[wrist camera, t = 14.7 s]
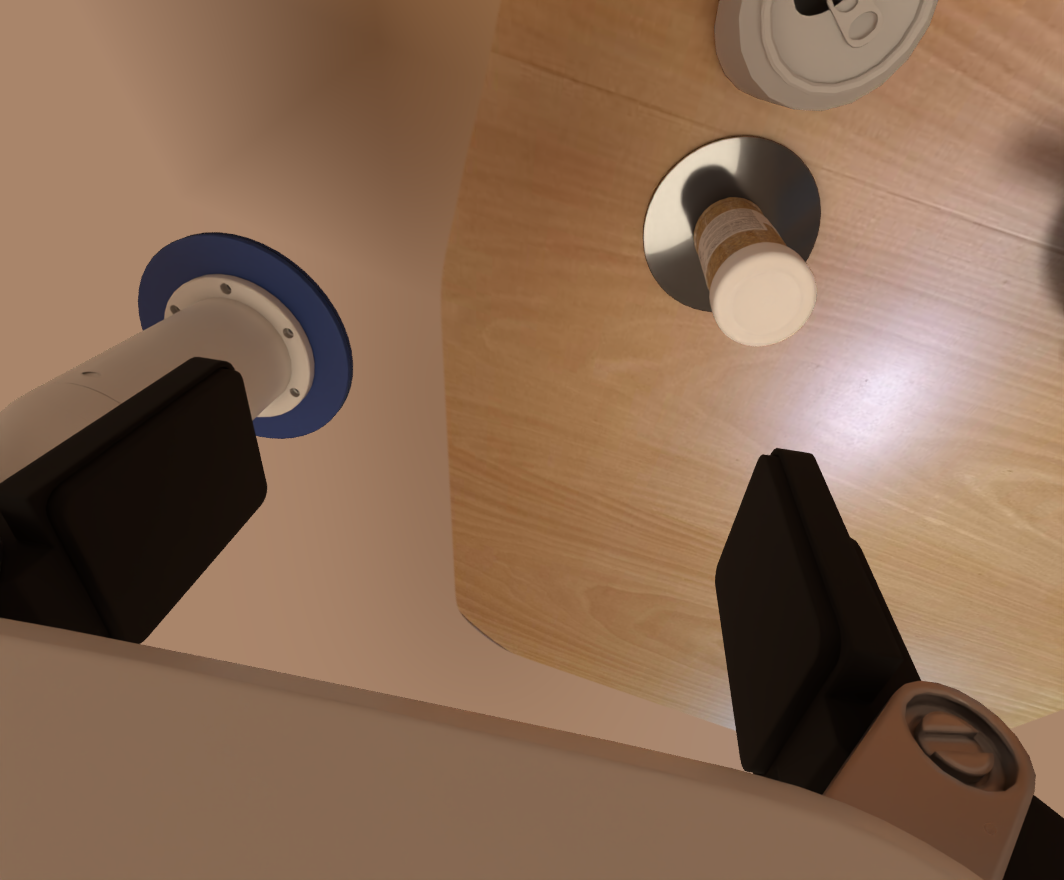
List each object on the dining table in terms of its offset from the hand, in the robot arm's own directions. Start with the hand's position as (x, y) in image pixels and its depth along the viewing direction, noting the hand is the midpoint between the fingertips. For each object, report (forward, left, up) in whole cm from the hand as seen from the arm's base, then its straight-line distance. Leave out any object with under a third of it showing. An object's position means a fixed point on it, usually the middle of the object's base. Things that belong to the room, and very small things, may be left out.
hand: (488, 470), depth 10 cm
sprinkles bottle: (+7, -6, -32) cm, 33 cm away
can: (+12, +4, -32) cm, 35 cm away
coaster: (+7, -6, -32) cm, 34 cm away
